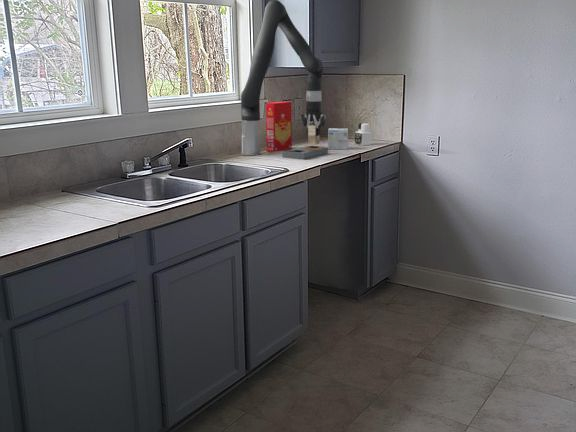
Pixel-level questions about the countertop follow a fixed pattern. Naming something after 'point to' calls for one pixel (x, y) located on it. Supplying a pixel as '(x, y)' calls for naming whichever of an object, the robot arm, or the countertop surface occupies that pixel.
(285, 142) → the food packaging
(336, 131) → the light bulb box
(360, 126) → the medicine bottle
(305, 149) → the grey flat block
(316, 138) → the peg
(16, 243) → the countertop surface
